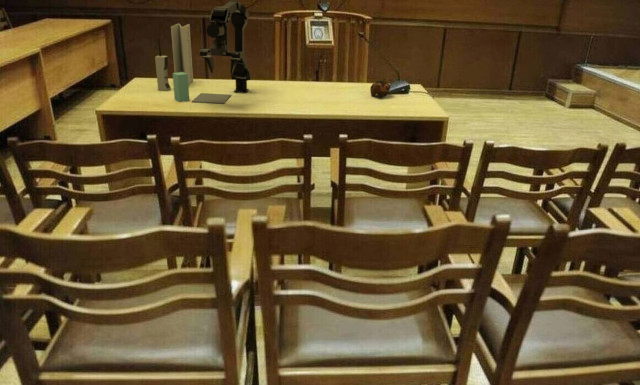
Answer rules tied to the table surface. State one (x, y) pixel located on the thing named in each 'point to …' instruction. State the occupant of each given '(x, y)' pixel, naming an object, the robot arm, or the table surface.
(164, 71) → the vintage mobile phone
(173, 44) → the brochure
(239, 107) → the table surface
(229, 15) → the robot arm
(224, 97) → the rubber mat
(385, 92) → the decorative turtle
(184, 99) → the teal block
